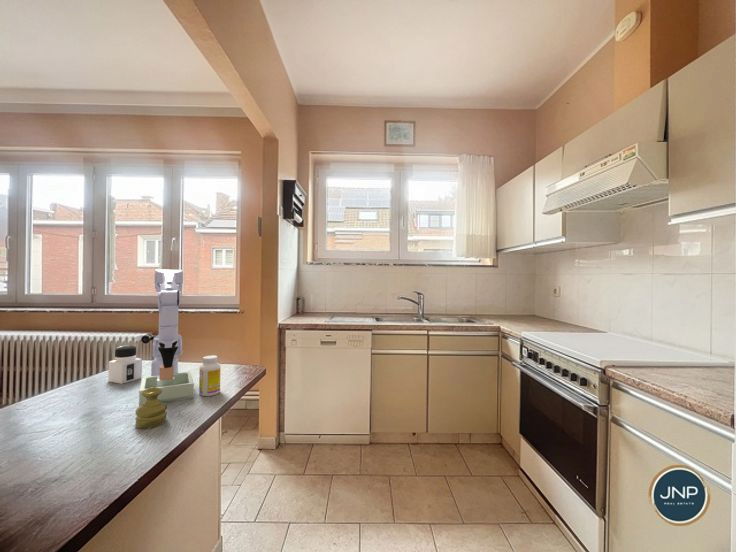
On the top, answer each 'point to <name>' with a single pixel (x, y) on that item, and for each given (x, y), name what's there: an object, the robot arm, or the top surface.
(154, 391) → the brass calibration weight
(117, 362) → the container
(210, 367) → the supplement bottle
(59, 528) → the top surface
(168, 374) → the terracotta box
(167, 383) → the steel block
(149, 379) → the tote
